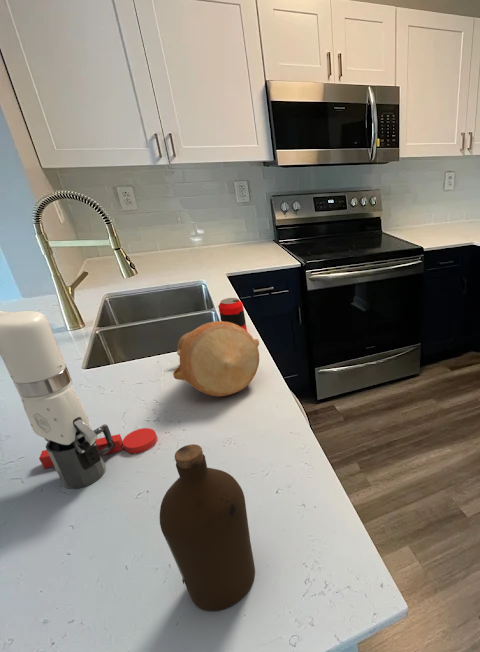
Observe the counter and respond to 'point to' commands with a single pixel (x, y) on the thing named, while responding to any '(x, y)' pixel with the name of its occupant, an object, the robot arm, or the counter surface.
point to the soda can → (232, 312)
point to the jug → (217, 358)
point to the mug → (70, 464)
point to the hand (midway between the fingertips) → (77, 458)
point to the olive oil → (208, 532)
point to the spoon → (118, 444)
